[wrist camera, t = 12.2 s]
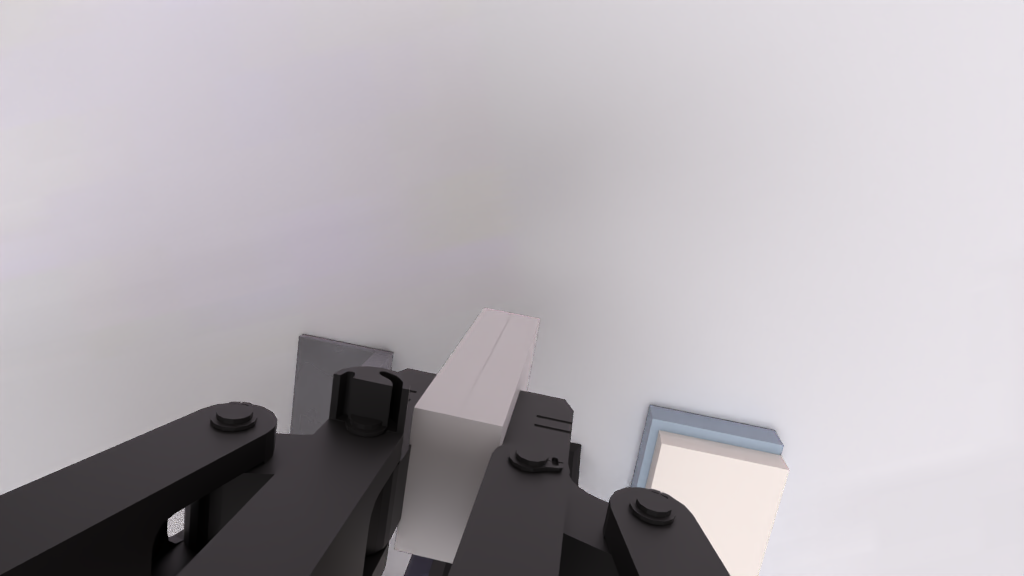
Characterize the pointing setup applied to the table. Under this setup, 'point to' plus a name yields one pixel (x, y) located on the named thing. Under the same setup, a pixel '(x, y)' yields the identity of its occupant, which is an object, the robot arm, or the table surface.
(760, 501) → the sharpening stone
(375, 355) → the bookend
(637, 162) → the table surface
